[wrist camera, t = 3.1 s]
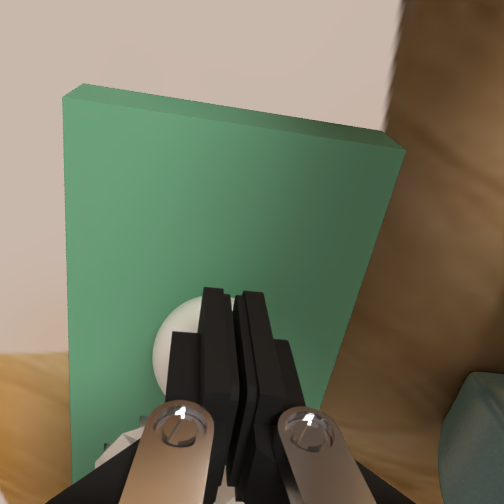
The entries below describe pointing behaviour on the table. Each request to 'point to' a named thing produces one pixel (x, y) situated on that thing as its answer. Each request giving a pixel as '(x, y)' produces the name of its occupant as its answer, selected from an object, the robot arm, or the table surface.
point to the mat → (205, 240)
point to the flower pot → (474, 443)
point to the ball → (177, 320)
